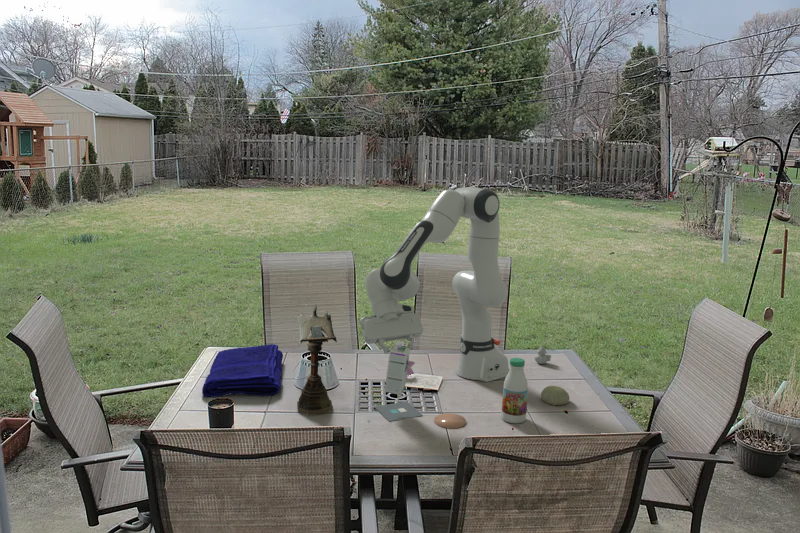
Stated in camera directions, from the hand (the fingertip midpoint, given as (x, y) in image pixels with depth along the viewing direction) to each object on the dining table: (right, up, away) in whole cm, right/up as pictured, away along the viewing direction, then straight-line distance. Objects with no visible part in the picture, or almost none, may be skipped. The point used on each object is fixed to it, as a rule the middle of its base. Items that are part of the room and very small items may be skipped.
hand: (399, 351), depth 206 cm
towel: (-56, -14, +28) cm, 64 cm away
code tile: (0, -20, +3) cm, 20 cm away
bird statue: (-26, -20, +2) cm, 33 cm away
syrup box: (-2, -13, +2) cm, 13 cm away
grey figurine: (+58, -12, +53) cm, 79 cm away
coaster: (+16, -22, -3) cm, 27 cm away
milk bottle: (+37, -22, 0) cm, 43 cm away
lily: (+1, -14, +34) cm, 37 cm away
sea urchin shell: (+53, -20, +15) cm, 59 cm away
